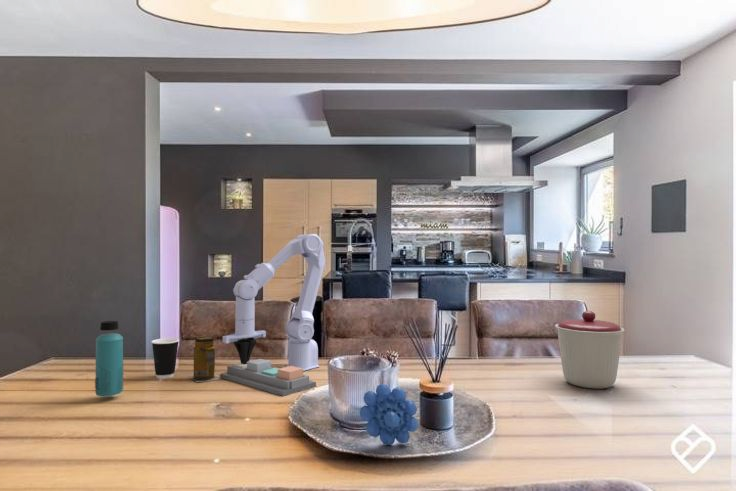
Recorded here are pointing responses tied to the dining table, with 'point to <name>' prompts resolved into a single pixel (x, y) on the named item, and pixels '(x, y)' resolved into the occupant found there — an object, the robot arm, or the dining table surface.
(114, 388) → the beverage bottle
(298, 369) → the terracotta key
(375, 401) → the blue flower
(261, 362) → the slate key
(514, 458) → the dining table surface
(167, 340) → the dixie cup
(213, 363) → the condiment
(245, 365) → the cream key
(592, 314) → the canister
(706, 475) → the dining table surface
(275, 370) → the teal key
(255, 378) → the keypad
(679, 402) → the dining table surface
